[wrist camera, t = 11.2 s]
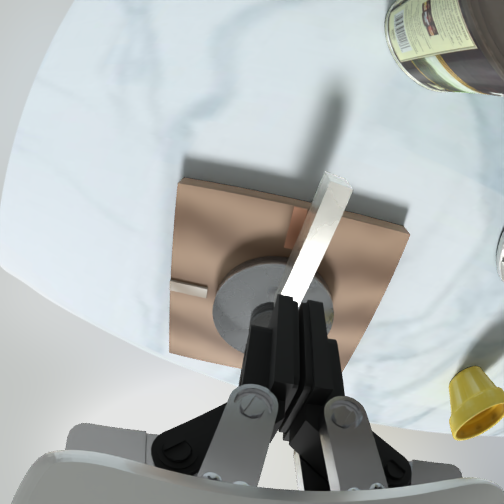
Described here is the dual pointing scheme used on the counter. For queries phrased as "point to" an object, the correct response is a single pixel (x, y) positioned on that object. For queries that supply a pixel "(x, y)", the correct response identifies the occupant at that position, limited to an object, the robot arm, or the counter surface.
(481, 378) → the plant pot
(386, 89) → the counter surface
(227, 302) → the dial
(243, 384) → the robot arm
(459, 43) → the coffee can
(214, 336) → the dial board
